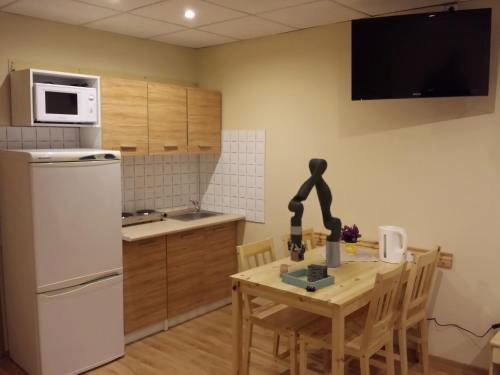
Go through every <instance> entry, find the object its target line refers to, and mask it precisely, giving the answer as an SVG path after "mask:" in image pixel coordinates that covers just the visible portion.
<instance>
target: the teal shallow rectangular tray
mask: <svg viewBox="0 0 500 375" xmlns="http://www.w3.org/2000/svg"><path fill="white" fill-rule="evenodd" d="M303 276H305V277H308V268H306V267H302V268H299V269H295V270H292V271H288V273H284V274H282V277H281V282H283V283H285V284H289V285H292V286H295V287H299V288H302V289H304V290H305V289H306V287H307V286H310V287H312V288H313V287H315V289H316V290H319V289H322V288H327V287H329V286H331V285H334V284H335V278H336V277H335V275H332V274H329V273H327V278H325V279H322V280H318V281H315V282H309V281H308V280H307V279H306V280H305V279H302V278H300V277H303ZM306 290H307V289H306ZM316 290H315V291H316Z"/></svg>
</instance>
